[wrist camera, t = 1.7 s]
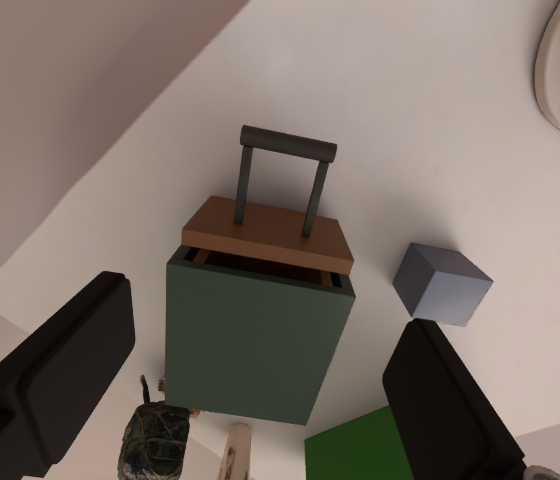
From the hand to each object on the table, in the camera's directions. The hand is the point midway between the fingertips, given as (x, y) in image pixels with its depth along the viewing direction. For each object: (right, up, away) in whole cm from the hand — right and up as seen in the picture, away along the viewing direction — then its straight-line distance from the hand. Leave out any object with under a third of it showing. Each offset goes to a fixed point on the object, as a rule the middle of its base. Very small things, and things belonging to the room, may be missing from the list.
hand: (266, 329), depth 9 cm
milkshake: (-5, -25, +32) cm, 41 cm away
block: (+15, 0, +18) cm, 24 cm away
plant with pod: (-11, -15, +27) cm, 33 cm away
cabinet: (-2, -2, +20) cm, 20 cm away
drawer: (-1, +3, +17) cm, 17 cm away
